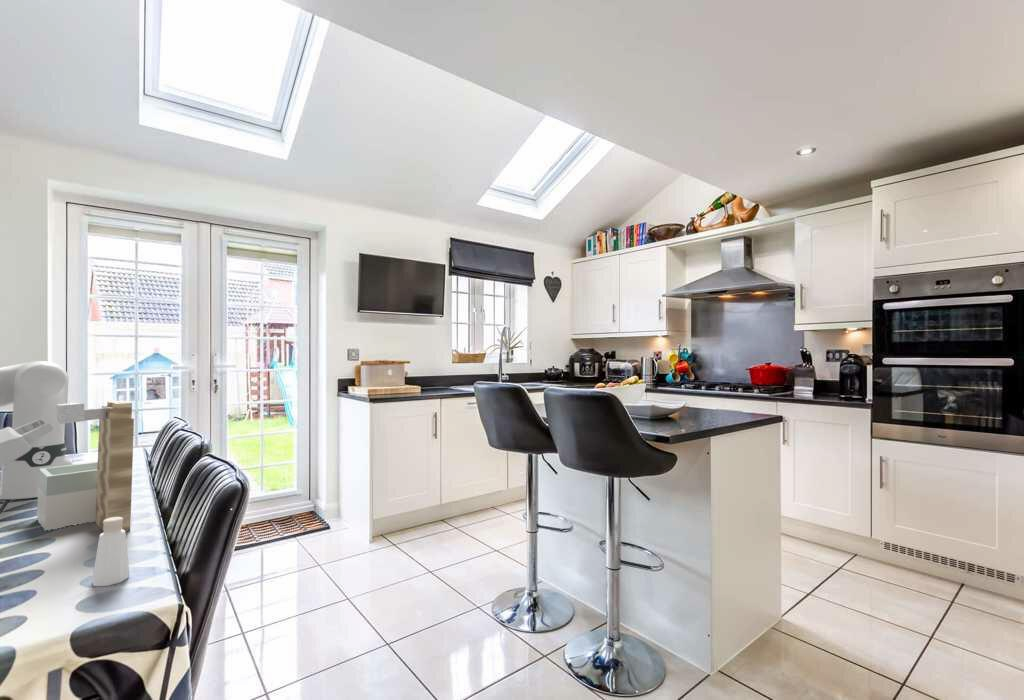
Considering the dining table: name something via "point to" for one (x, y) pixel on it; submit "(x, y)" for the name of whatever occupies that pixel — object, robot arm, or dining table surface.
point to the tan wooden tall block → (115, 464)
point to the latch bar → (78, 413)
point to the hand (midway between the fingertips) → (47, 423)
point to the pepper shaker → (111, 554)
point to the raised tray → (67, 495)
